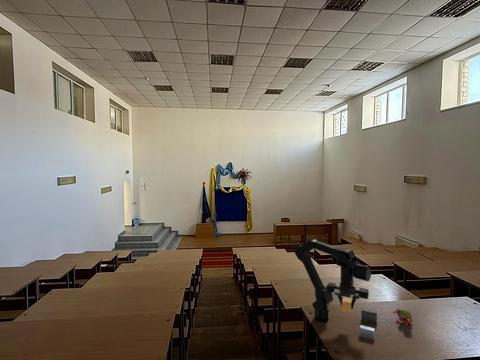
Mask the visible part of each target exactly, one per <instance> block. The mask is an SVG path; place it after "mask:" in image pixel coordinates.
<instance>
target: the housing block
mask: <svg viewBox="0 0 480 360" xmlns="http://www.w3.org/2000/svg"><path fill="white" fill-rule="evenodd" d="M351 306H352V298H351V297H349V298H348V297H345V296H343V300H342V306H341V312H343V313H347V314H352V312H353V309H351Z"/></svg>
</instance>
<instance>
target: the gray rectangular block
mask: <svg viewBox="0 0 480 360" xmlns="http://www.w3.org/2000/svg"><path fill="white" fill-rule="evenodd" d="M359 337H361V338H365V339H370V340H373V341H375V337H376V336H375V328H374V327H370V326H366V325H363V324H359Z"/></svg>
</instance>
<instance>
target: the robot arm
mask: <svg viewBox="0 0 480 360" xmlns="http://www.w3.org/2000/svg"><path fill="white" fill-rule="evenodd" d="M314 249H315V250H316V251H319V252H322V253H325V254H327V255H330V256H332V257H334V258H335V259H336V260H338V262H337V263H335V265H336V266H340V282H339V285H338V286H337V283H334V282H327V284H326V286H325V285H324V284H323V282H322V279H321V277H320V275H319V273H318V271H317V269H316V266H315V265H314V262H313V261H312V252H311V251H312V250H314ZM294 255H295V256H296V258H297V260H299V261H300V262H301V263H302V264H303V266H304V269H305V271H306V273H307V275H308V277H309V279H310V281H311V284H312V286H313V288H314V291H315V292H314V296H315V301H314V302H312V307H313V309H314V318H313V320H315V321H319V322H322V323H327V322H328V321H329V319H330V310H329V306H330V305H331V304H332V303H333V301H334V295H336V296H337V298H338V300H339V303H340V307H342V300H343V297H346V298H351V296H352V298H351V299H352V306H351V309H352V310H353V308H354V306H355V303H356V301H357V300H359V299H365V300H368V299H369V295H370V291H369V289H368V288H363V287H359V289H356V286H354V278H355V279H357V280H361V281H365V282H370V280H371V278H372V271H371V269H370V266H369V265H366V264H361V263H360V261H359V259H358V258H357V256H356V254H355V252H354V250H353V249H351V248H346V247H336V246H334V245H331V244H328V243H325V242H323V241H319V240H317V239H309V240H308V241H307V242H306V243H304V244H301V245H298V246H297V245H296V247H295V248H294Z"/></svg>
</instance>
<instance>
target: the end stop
mask: <svg viewBox="0 0 480 360" xmlns="http://www.w3.org/2000/svg"><path fill="white" fill-rule="evenodd" d="M360 311H361V312H360V313H361V316H360V318H361V322H363V323H367V324H372V325H374V326H375V325H376V326H377V325H378V310H376V309H371V308H365V307H361V309H360Z"/></svg>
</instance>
